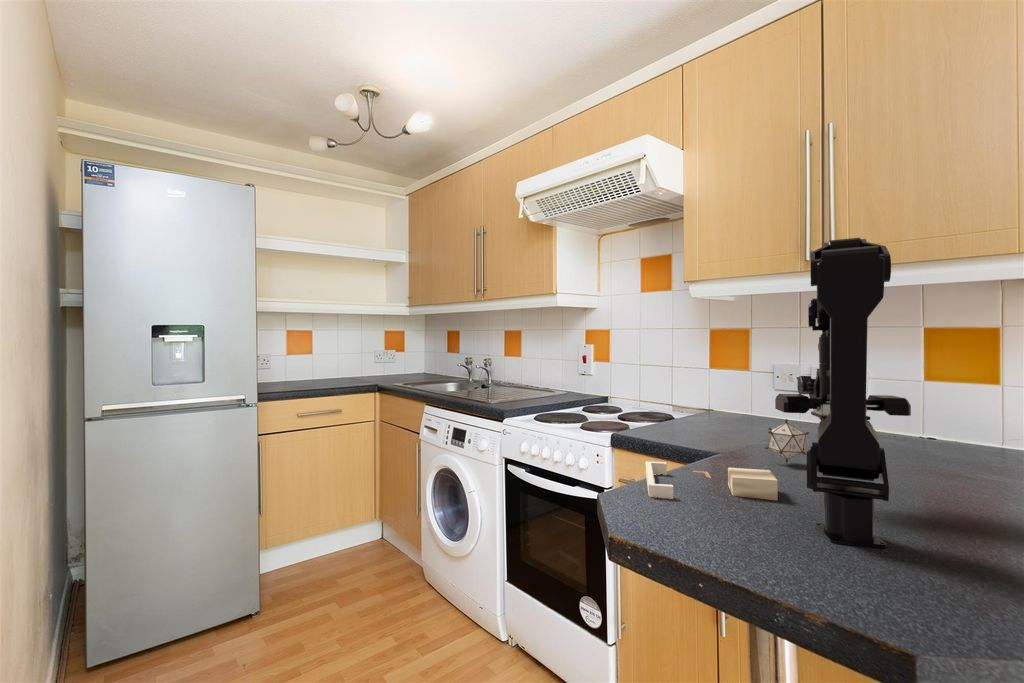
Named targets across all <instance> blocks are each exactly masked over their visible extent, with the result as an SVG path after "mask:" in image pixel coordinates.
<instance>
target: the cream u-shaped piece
mask: <svg viewBox="0 0 1024 683" xmlns="http://www.w3.org/2000/svg"><path fill="white" fill-rule="evenodd" d="M667 466H668V465H667V462H666V461H665V462H664V461H645V477H646V478H645V479H646V484H647V493H648V497H649V498H657V497H658V499H659V498H660V499H670V500H674V485H673V484H663V483H662V484H661V483H656V479H655V475H658V476H661V475H660V474H663V473H665V474H663V475H662V476H667V475H668V473H667V472H668V471H667V470H668V469H667Z"/></svg>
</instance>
